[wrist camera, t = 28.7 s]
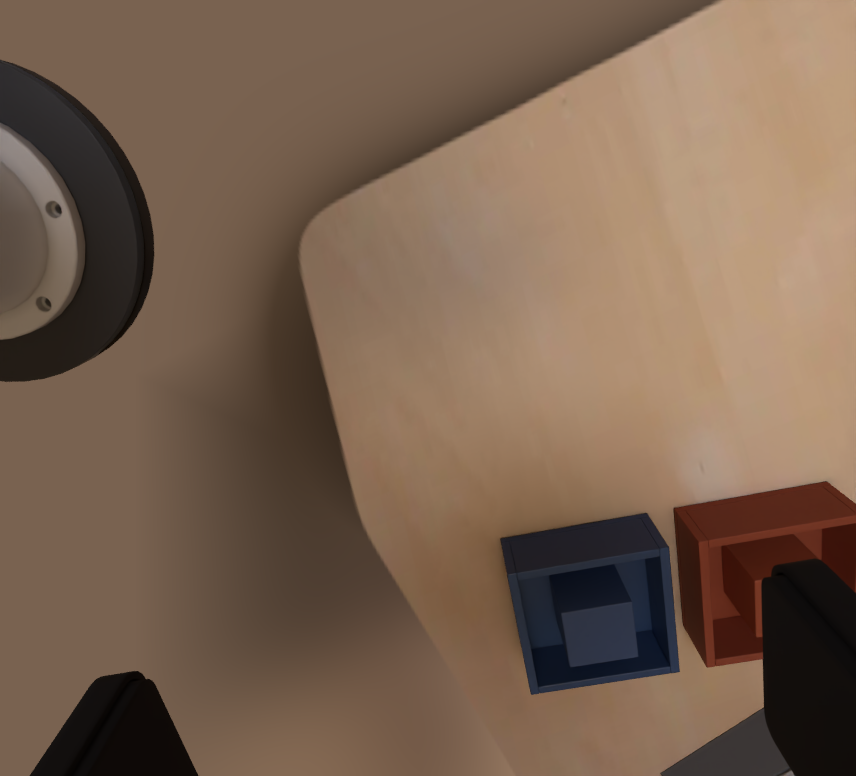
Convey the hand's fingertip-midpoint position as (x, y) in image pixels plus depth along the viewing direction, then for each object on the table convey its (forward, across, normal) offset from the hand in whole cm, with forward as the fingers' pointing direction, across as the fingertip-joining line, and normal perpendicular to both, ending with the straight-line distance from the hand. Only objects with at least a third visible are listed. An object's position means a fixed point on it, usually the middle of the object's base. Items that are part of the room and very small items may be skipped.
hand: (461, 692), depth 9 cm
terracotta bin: (+28, -18, +22) cm, 40 cm away
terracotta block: (+28, -18, +22) cm, 40 cm away
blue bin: (+28, -6, +22) cm, 36 cm away
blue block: (+28, -6, +22) cm, 36 cm away
